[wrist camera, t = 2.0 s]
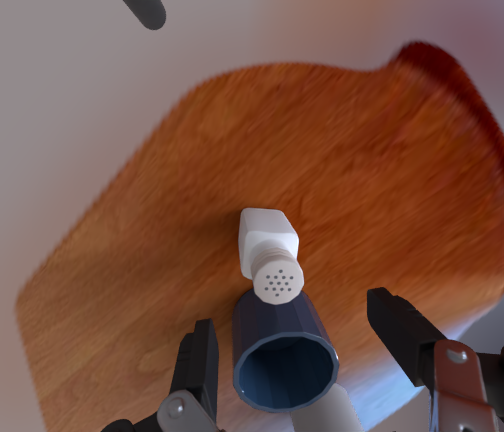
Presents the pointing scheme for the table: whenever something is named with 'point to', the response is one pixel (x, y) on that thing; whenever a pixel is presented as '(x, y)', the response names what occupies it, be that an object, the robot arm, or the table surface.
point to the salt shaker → (270, 255)
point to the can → (328, 414)
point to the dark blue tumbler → (280, 354)
